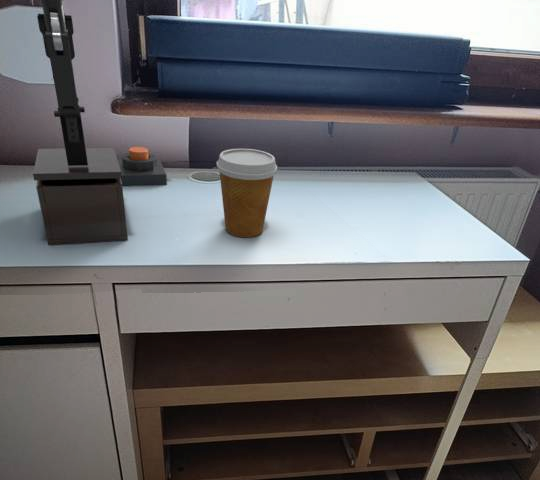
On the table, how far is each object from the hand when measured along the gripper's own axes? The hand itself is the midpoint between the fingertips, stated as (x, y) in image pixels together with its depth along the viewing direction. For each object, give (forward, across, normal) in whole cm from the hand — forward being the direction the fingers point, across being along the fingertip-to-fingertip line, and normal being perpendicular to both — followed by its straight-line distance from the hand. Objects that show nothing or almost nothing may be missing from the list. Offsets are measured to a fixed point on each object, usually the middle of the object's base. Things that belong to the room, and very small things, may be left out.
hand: (77, 163), depth 73 cm
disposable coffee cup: (+11, -2, -25) cm, 27 cm away
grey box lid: (+1, +4, 0) cm, 4 cm away
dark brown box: (+11, +4, 0) cm, 12 cm away
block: (+11, +26, -11) cm, 30 cm away
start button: (+7, +26, -11) cm, 29 cm away
